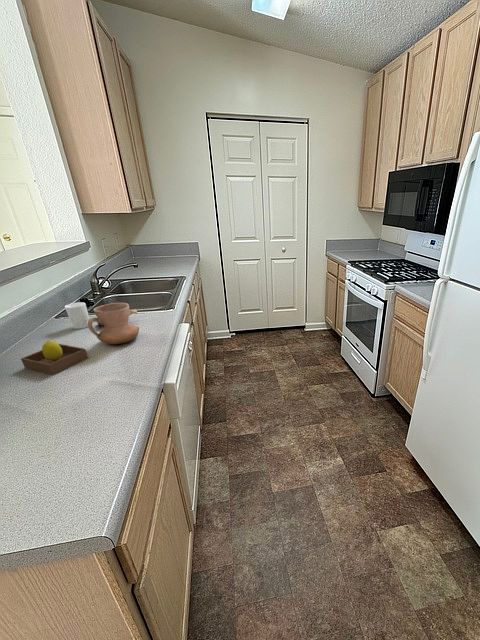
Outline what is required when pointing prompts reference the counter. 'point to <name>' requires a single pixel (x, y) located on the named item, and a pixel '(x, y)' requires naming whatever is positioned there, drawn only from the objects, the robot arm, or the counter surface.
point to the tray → (52, 367)
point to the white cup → (78, 314)
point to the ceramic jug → (114, 323)
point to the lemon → (52, 351)
